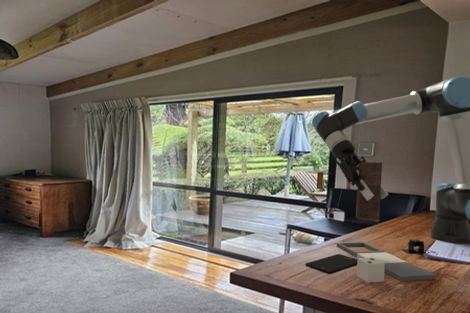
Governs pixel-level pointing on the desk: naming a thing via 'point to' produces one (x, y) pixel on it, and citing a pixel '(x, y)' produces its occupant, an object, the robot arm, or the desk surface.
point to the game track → (389, 262)
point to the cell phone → (333, 263)
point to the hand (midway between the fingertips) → (377, 197)
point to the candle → (373, 181)
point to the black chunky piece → (413, 244)
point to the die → (370, 269)
